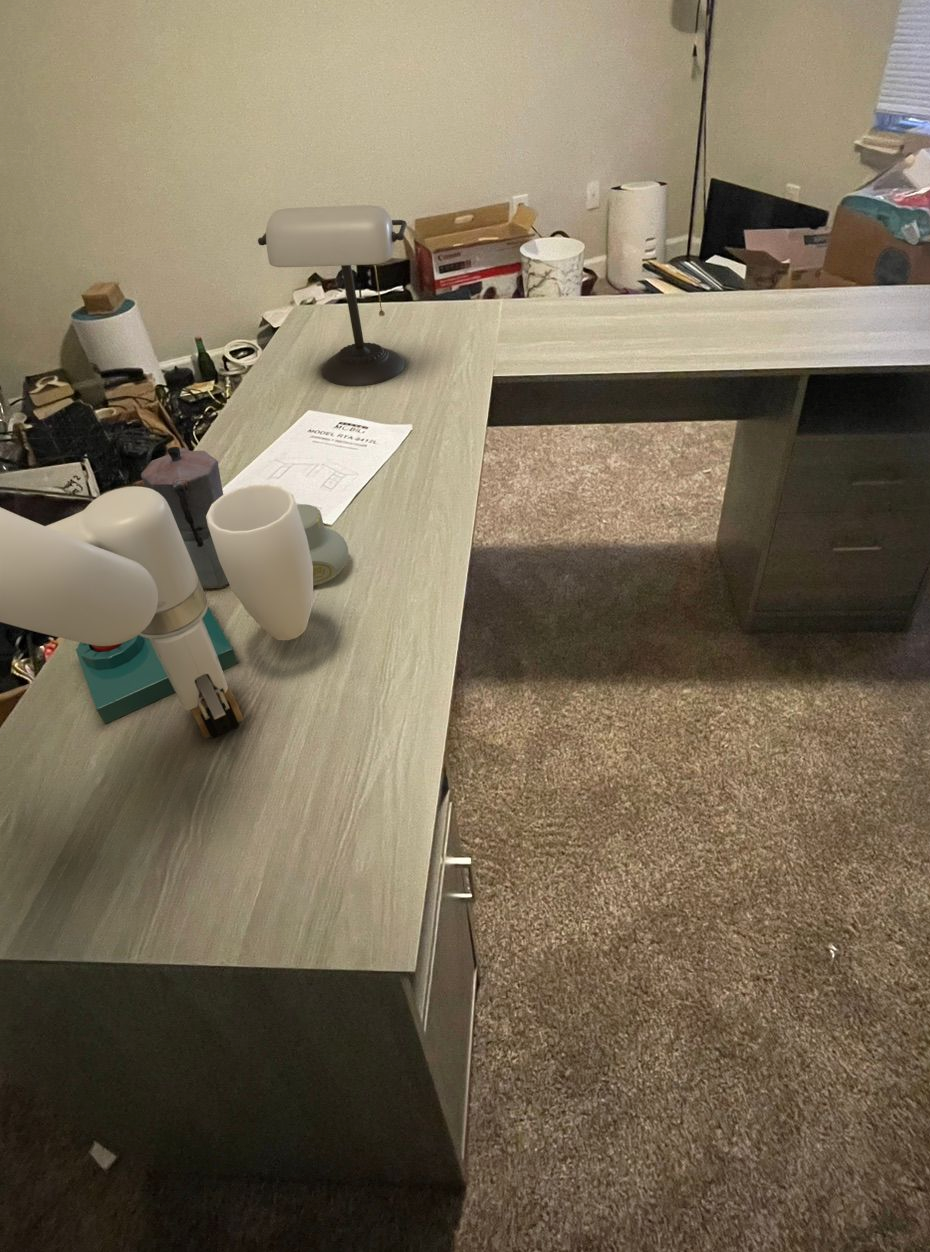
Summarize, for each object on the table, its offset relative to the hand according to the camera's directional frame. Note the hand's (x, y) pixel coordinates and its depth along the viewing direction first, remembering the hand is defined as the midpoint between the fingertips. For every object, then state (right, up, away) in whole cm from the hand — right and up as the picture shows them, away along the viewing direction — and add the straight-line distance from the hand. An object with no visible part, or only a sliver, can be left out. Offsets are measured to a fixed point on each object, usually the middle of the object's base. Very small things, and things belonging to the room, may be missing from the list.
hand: (217, 715), depth 86 cm
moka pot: (-8, +17, +21) cm, 28 cm away
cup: (+6, +7, +9) cm, 13 cm away
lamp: (+3, +59, +70) cm, 91 cm away
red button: (-15, +8, +5) cm, 18 cm away
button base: (-10, +5, +7) cm, 13 cm away
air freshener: (+6, +17, +20) cm, 27 cm away
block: (0, 0, 0) cm, 0 cm away
